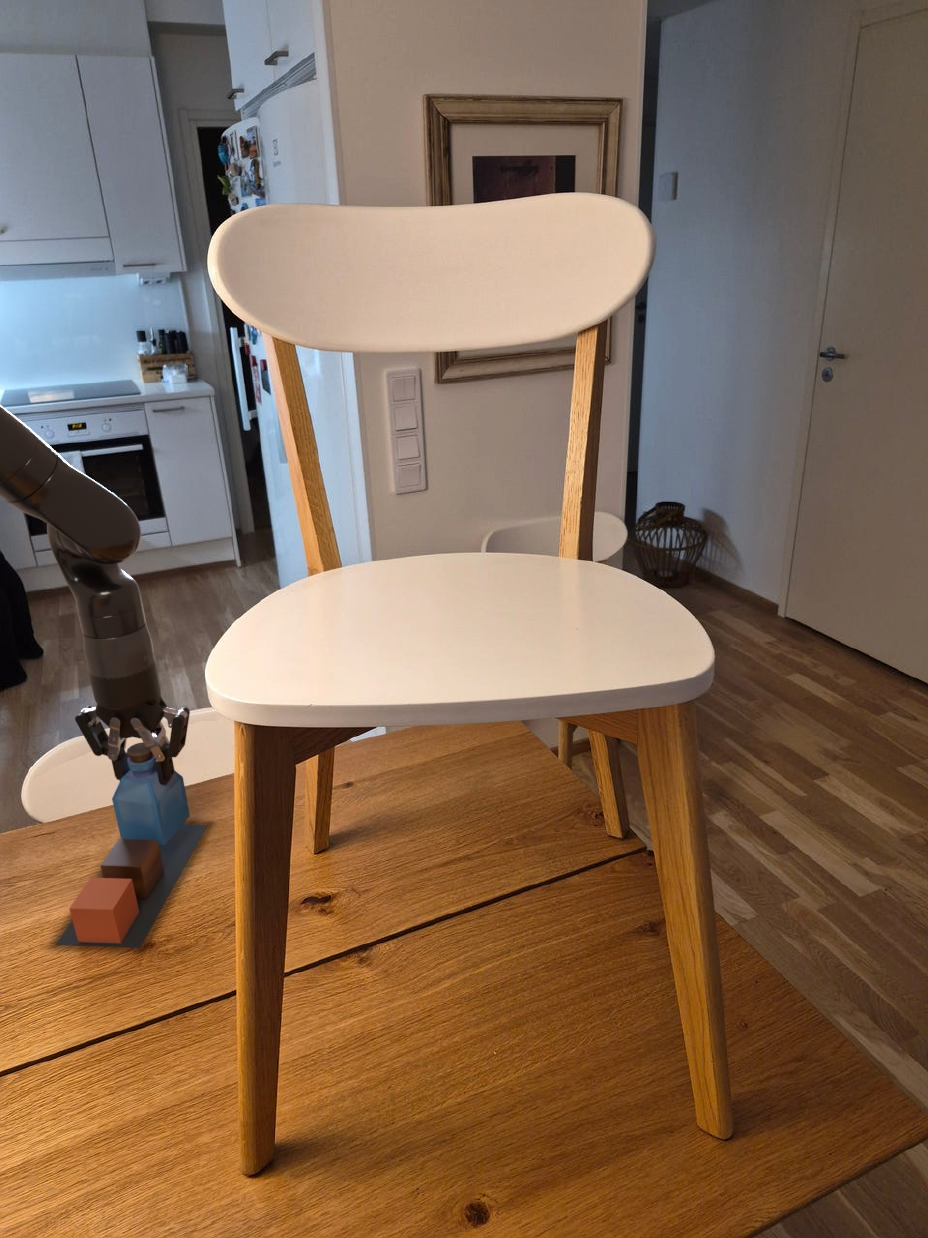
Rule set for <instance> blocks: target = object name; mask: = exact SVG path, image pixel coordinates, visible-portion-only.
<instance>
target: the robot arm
mask: <svg viewBox="0 0 928 1238" xmlns="http://www.w3.org/2000/svg"><path fill="white" fill-rule="evenodd" d="M0 498H1V499H3V500H4V501H5V502H6V503H8V504H9V505H10V506H12V507H14V508H15V509H17V510H19V511H20V512H22V513H24V514H27V515H28V516H31V517H34V518H37V519H39V520H41V521H43V522H44V523H46V532H47V540H48V543H49V546H50V549H51V552H52V555H53V557H54V559H55V561H56V563H57V565H58V567H59V570H60V572H61V574H62V576H63V579H64V581H65V582H66V585H67V586H68V588H69V590H70V591H71V594H72V595H73V597H74V600H75V606H76V612H77V617H78V621H79V627H80V630H81V636H82V646H83V648H82V649H83V654H84V661H85V664H86V668H87V672H88V676H89V680H90V681H89V682H90V685H91V689H92V693H93V694H92V695H93V698H94V701H95V703H96V706H94V707H92V705H91V706H90V705H86V706H85V707H84V708H82V709H81V710H80V711H79V713H77V714H76V716H75V717H74V720H75V722H76V724H77V727H78V728H79V730H80V732H81V733H82V735H83V737H84V739H85V740H86V741H85V742H86V743H87V745H88V746H89V748H90V750H91V752H92V753H93V754H94V756H96V757H101V756H105V757H107V758H108V759H109V760H110V761H111V764H112V770H113V773H114V777H115V779H116V780H117V781H119V782H120V780H121V778H122V777H123V776H124V775H125V774H127V773H128V772H129V771H130V770H131V769H129V766H128V761H127V759H128V757H129V756H128V754H127V750H126V747H127V741H128V739H130V738H136V739H141V741H142V742H144V744H145V746H146V747H147V748H150V750H151V751H152V753H153V755H154V757H155V758H156V761H155V764H156V769H157V774H158V779H159V783H160V784H161V785H167V783H168V782H169V781H170V780H171V778H172V777H173V775H174V772H175V771H176V769H175V765H174V759H173V758H177V757H178V756H179V754H180V753H181V751H182V750H183V748H184V747H185V745H186V741H187V734H188V728H189V722H190V721H189V720H190V715H191V714H190V713H191V710H190V709H189V708H188V707H185V706H183V707H181V708H180V709H176V708H173V707H172V708H171V707H168V705H167V703H166V702H165V701H164V699H163V697H162V686H161V682H160V675H159V673H158V672H159V671H158V666H157V661H156V655H155V649H154V644H153V640H152V636H151V632H150V630H149V628H148V623H147V619H146V614H145V610H144V604H143V599H142V598H143V597H142V594H141V590H140V587H139V584H138V582H137V580H135V579H134V578H133V577H132V576H131V575H130V574H128V573H127V572H125V571H124V570H123V569H122V568H121V566H120V565H119V564H121V563H123V562H125V561H127V560H128V559H130V558H131V557H133V556H134V555H135V554H136V552H138V549H139V548H140V545H141V541H142V528H141V524H140V522H139V519H138V517H137V516H136V514H135V512H134V511H133V510H132V508H131V507H130V506H128V504H127V503H126V502H124V501H123V500H122V499H121V498H120V497H118V496H117V495H116V494H115V493H114V492H111V491H110V490H108V489H107V488H106V487H104V486H103V485H102V484H100V483H99V482H97V481H95V480H94V479H92V478H91V477H89V476H88V475H86V474H84V473H83V472H81V471H80V470H78V469H76V468H75V467H73V466H72V465H71V464H69V463H68V462H67V461H66V460H65V459H64V458H63V457H62V456H61V455H60V454H59V453H58V452H57V451H56V450H54V448H52V446H50V445H49V444H48V443H47V442H46V441H45V440H43V439H42V438H41V437H40V436H39V435H38V434H36V433H35V432H34V431H33V430H32V429H31V428H30V427H29V426H27V425H26V424H25V423H24V422H22V421H21V420H20V419H19V418H17V417H16V416H15V415H14V414H12V413H11V412H10V411H9V410H7V409H6V408H4V406H2V405H0ZM163 719H166V720H167V726H168V728H169V729H170V737H169V738H168V736H167V730H166V728H165V726H164V724H163V723H162V721H163ZM101 721H102V722H101ZM102 723H104V724H105V725H106V726H107V727H108V729H109V731H108V732H109V733H107V731H106V729H105V727H104V725H103V724H102Z"/></svg>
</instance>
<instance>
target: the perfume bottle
mask: <svg viewBox="0 0 928 1238" xmlns="http://www.w3.org/2000/svg"><path fill="white" fill-rule="evenodd" d="M126 751H127V754H128V756H129V757H128V759H127V761H128V766H129V769H131V770H130V771H129V772H128V773H127V774H125V775H124V776H123V777H122V778H121V780H120V781H119V782H118V785H117V787H116V789H115V791H114V793H113V796H112V798H111V801H112V805H113V810H114V813H115V818H116V822H117V823H116V824H117V827H118V832H119V836H120V839H139V840H158V845H165V844H166V843H167V841H168V840H169V839H170V838H171V837H172V836H173V835H174V834H175V832H176V831H177V830H178V829H179V828H180V827H181V826H182V824H183V825H184V823H185V822H186V821H187V820H188V819H189V818H190V816H191V815H190V814H191V813H190V808H189V803H188V797H187V792H186V786H185V781H184V777H183V775H182V774H180V773H178V771H176V770H175V772H174V775H173V777H172V778H171V780H170V781H169V782H168V783H167V785H161V784H160V783H159V779H158V774H157V769H156V764H155V761H156V758H155V757H154V755H153V753H152V751H151V750H150V748H147V747H146V746H145V744H144V742H143V741H142V742H137V743H134V744H132V745H130V746H129V747H128V748H127V750H126Z"/></svg>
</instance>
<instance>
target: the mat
mask: <svg viewBox="0 0 928 1238" xmlns="http://www.w3.org/2000/svg"><path fill="white" fill-rule="evenodd" d="M207 827H208V824H184V823H183V824H182V826H181V827H180V828H179V829H178V830H177V831H176V832H175V834H174V835H173V836H172V837H171V838H170V839H169V840H168V841H167V843H166V844H165V845H159V850H160V855H161V859H162V864H163V869H164V872H163V874H162V876H161V878H160V879H159V881H158V883H157V884H156V886H155V888H154V890H153V891H152V893H151V895H150V896H149V898H148V899H136V895H135V890H134V886H133V882H132V879H119V878H103V874H102V875H101V876H100V877H90V878H89V879H88V880H87V882H86V883H85V885H84V886H83V888H82V889H81V891H80V892H79V894H78V895H77V896H76V898H75V899H74V901H73V902H72V904H71V905H70V907H69V912H70V913H69V914H70V916H71V921H70V922H69V924H68V925H67V927H66V928H65V929H64V931H63V933H62V934H61V935H60V937H59V938H58V940H57V941H56V942H55V946H72V947H73V946H74V947H75V946H76V947H103V948H106V947H107V948H129V949H131V948H133V949H142V946H143V944H144V943H145V940H146V939H147V937H148V935H149V934H150V932H151V929H152V928H153V926H154V925H155V922H156V920H157V919H158V917H159V915H160V914H161V911H162V910H163V908H164V906H165V904H166V902H167V900H168V898H169V897H170V895H171V893H172V891H173V889H174V887H175V886H176V884H177V883H178V880H179V878H180V877H181V875H182V873H183V871H184V869H185V867H186V866H187V864H188V862H189V861H190V858H191V856H193V855H192V854H193V853H194V852H195V849H196V847H197V846H198V844H199V842H200V840H201V838H202V837H203V834H204V833H205V831H206V829H207Z"/></svg>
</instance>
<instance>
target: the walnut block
mask: <svg viewBox="0 0 928 1238" xmlns="http://www.w3.org/2000/svg"><path fill="white" fill-rule="evenodd" d="M100 870H101V874H102V875H103V878H119V879H132V882H133V886H134V890H135V895H136V899H148V898H149V896H150V895H151V893H152V891H153V890H154V888H155V886H156V884H157V883H158V881H159V879H160V878H161V876H162V874H163V872H164V869H163V864H162V859H161V855H160V850H159V845H158V840H139V839H121V838H118V840H117V841H116V842H115V844H114V845H113V847H112V848H111V849H110V851H109V852H108V854H107V855H106V857H105V858H104V859H103V861H102V862H101V864H100Z"/></svg>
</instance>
